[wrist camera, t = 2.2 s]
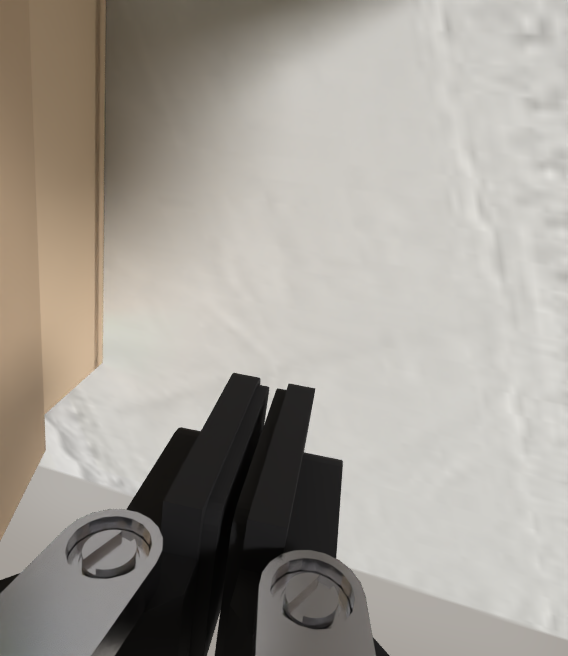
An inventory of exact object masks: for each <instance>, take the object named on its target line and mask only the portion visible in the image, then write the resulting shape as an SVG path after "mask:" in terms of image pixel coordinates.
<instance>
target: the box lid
mask: <svg viewBox="0 0 568 656" xmlns="http://www.w3.org/2000/svg"><path fill="white" fill-rule="evenodd" d="M45 450H46V447H45V420H44V394H43V367H42V341H41V314H40V288H39V261H38V235H37V208H36V182H35V156H34V129H33V103H32V76H31V50H30V23H29V0H0V540H1V539H2V536H3V534H4V533H5V531H6V529H7V527H8V525H9V522H10V521H11V518H12V516H13V514H14V512H15V510H16V508H17V506H18V504H19V502H20V500H21V498H22V496H23V494H24V492H25V490H26V488H27V486H28V484H29V482H30V480H31V478H32V476H33V474H34V472H35V470H36V468H37V466H38V464H39V462H40V460H41V458H42V456H43V454H44V452H45Z"/></svg>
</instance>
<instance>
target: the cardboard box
mask: <svg viewBox="0 0 568 656" xmlns="http://www.w3.org/2000/svg"><path fill="white" fill-rule="evenodd" d="M29 23H30V50H31V76H32V103H33V129H34V156H35V182H36V208H37V235H38V261H39V288H40V314H41V341H42V367H43V394H44V415H45V414H46V413H47V412H48V411H49V410H50V409H51V408H52V407H53V406H55V405H56V404H57V403H58V402H59V401H60V400H61V399H62V398H64V397H65V396H66V395H67V394H68V393H69V392H70V391H71V390H72V389H74V388H75V387H76V386H77V385H78V384H79V383H80V382H81V381H82V380H84V379H85V378H86V377H87V376H88V375H89V374H90V373H91V372H93V371H94V370H95V369H96V368H97V367H98V366H99V365H100V364H101V363H102V353H103V250H104V147H105V44H106V0H29Z"/></svg>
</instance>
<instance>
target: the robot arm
mask: <svg viewBox="0 0 568 656" xmlns="http://www.w3.org/2000/svg"><path fill="white" fill-rule="evenodd" d="M314 393H315V388H310V387H304V386H299V385H294V384H288V387H287V390H283V389H277V390H276V393H275V395H274V398H273V401H272V404H271V407H270V410H269V413H268V416H267V419H266V422H265V415H266V408H267V401H268V394H269V387H267V386H262V385H260V378H258V377H253V376H247V375H242V374H237V373H233V374H232V375H231V377H230V379H229V381H228V383H227V385H226V386H225V388H224V390H223V392H222V394H221V396H220V397H219V399H218V401H217V403H216V405H215V407H214V408H213V410H212V412H211V414H210V416H209V418H208V419H207V421H206V423H205V425H204V427H203V429H202V430H201V431H196V430H191V429H186V428H178V429H177V431H176V432H175V433H174V435H173V436H172V438H171V439H170V441H169V443H168V444H167V446H166V447H165V449H164V451H163V452H162V454H161V455H160V457H159V459H158V460H157V462H156V463H155V465H154V467H153V468H152V470H151V471H150V473H149V474H148V476H147V478H146V479H145V481H144V482H143V484H142V486H141V487H140V489H139V490H138V492H137V494H136V495H135V497H134V498H133V500H132V502H131V503H130V505H129V506H128V508H127V510H125V509H108V510H103V511H99V512H94V513H91V514H89V515H86V516H84V517H82V518H80V519H77V520H76V521H75V522H73V523H72V524H71V525H69V526H68V527H67V528H65V529H64V530H63V531H62V532H61V533H60V535H58V536H57V537H56V538H55V539H54V540H53V541H52V542H51V543H50V544H49V545H48V546H47V547H46V549H44V550H43V551H42V552H41V553H40V554H39V555H38V556H37V557H36V558H35V559H34V560H33V561H32V563H30V565H28V566H27V567H26V568H25V569H24V570H23V571H22V572H21V573H19V574H16V575H14V576H11V577H8V578H5V579H3V580H0V656H207V653H208V650H209V646H210V643H211V640H212V637H213V633H214V630H215V626H216V623H217V620H218V616H219V613H220V619H219V627H218V634H217V642H216V650H215V656H389V655H388V654H387V652H386V651H385V650H384V649H383V648H382V647H381V646H380V645H379V643H378V642H377V641H376V640H375V639H374V638H373V636H372V630H371V624H370V619H369V613H368V608H367V602H366V596H365V593H364V591H363V588H362V585H361V582H360V581H359V580H358V578H357V577H356V576H355V574H354V573H353V571H352V570H351V569H349V568H348V567H347V566H346V565H345V564H343V563H342V562H341V561H340V560H338V559H336V552H337V538H338V524H339V510H340V495H341V481H342V467H343V461H342V460H338V459H333V458H328V457H324V456H319V455H314V454H309V453H304V448H305V443H306V437H307V432H308V426H309V421H310V415H311V410H312V404H313V399H314ZM264 422H265V424H264ZM220 610H221V611H220Z"/></svg>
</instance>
